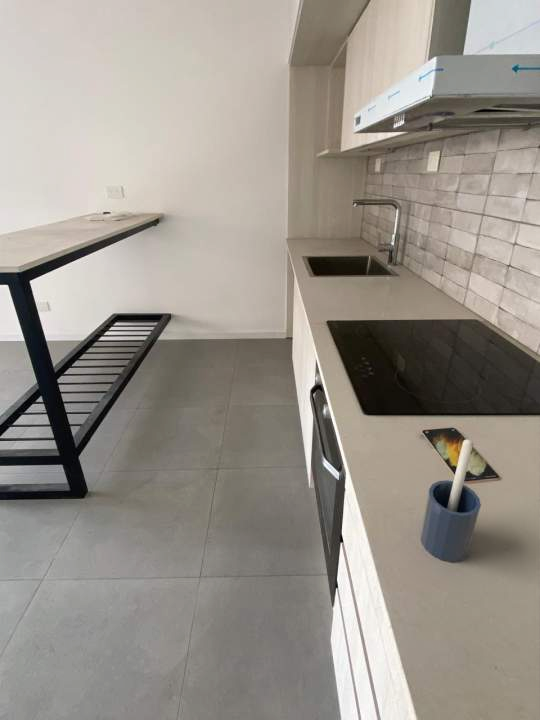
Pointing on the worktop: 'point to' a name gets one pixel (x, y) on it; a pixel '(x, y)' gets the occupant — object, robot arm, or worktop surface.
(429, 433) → the smartphone
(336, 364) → the worktop surface
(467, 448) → the stylus
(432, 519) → the pen pot
